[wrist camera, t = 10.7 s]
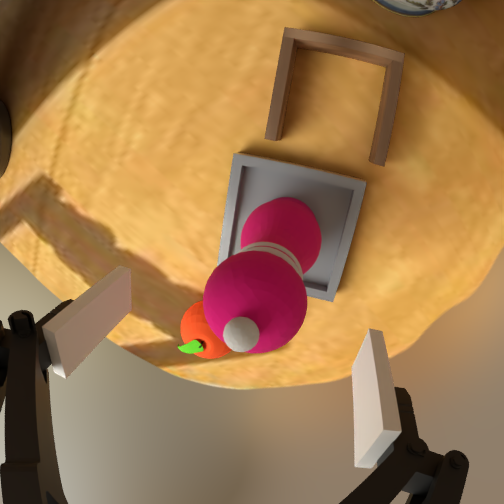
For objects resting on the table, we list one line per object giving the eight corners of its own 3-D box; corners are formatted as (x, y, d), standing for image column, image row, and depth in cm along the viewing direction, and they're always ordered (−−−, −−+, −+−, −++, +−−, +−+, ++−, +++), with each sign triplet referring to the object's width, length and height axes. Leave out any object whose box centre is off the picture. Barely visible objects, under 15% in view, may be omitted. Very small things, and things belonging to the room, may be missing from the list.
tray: (221, 265, 37) (216, 273, 35) (239, 152, 32) (233, 153, 30) (333, 293, 35) (333, 302, 34) (364, 179, 30) (366, 182, 29)
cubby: (270, 138, 31) (264, 138, 28) (288, 37, 27) (284, 27, 24) (378, 163, 30) (384, 166, 26) (396, 61, 25) (404, 53, 22)
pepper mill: (336, 228, 32) (346, 353, 14) (286, 272, 35) (241, 414, 17) (286, 177, 31) (230, 241, 13) (238, 225, 34) (142, 330, 16)
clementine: (206, 344, 42) (186, 378, 36) (177, 303, 41) (152, 333, 34) (256, 326, 39) (243, 363, 33) (227, 280, 38) (207, 311, 31)
